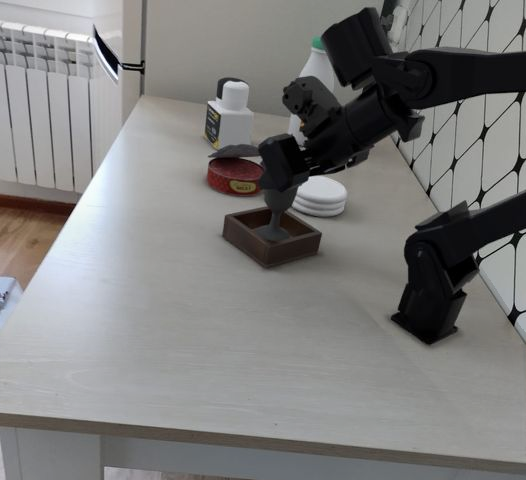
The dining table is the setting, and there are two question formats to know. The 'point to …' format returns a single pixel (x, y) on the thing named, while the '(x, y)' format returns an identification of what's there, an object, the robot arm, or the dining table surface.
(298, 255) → the brown wooden square box
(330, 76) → the milk bottle
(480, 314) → the dining table surface
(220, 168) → the canned food
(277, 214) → the sundae
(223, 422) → the dining table surface
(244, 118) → the medicine bottle
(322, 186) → the coaster
